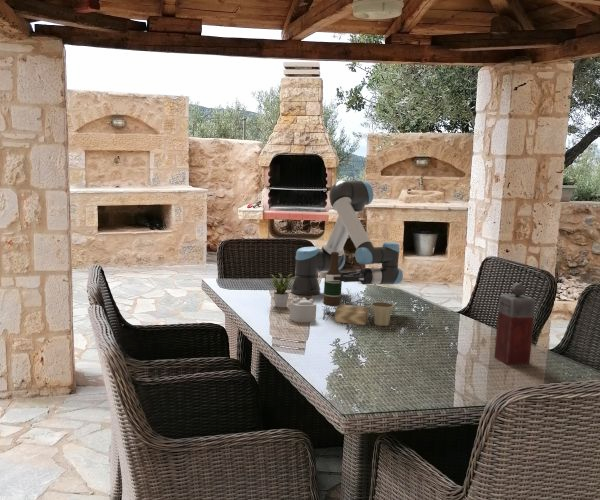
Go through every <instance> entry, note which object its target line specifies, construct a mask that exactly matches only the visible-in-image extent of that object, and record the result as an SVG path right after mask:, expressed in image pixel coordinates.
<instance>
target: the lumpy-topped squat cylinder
mask: <svg viewBox="0 0 600 500" xmlns="http://www.w3.org/2000/svg"><path fill="white" fill-rule="evenodd" d="M289 303H290V304H289V305H290V306H289V319H290V320H291V321H293V322H295V323H314V322H316V319H317V303H316V302H315V301H314V299H313V298H310V299H307V298H306V297H301V298H300V297H296V298H293V299H292V300H291V301H290V302H289Z"/></svg>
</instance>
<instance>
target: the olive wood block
mask: <svg viewBox="0 0 600 500" xmlns="http://www.w3.org/2000/svg"><path fill="white" fill-rule="evenodd" d="M334 311H335V312H334V314H335V315H334V323H343V324H353V325H354V324H355V325H363V326H365V325H366V324H367V322H368V320H369V318H370V317H369V315H370V306H363V305H362V306H361V305H352V304H351V305H350V304H341V303H340V305H339V306H337V308H336V309H335V310H334Z"/></svg>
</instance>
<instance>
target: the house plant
mask: <svg viewBox="0 0 600 500" xmlns="http://www.w3.org/2000/svg"><path fill="white" fill-rule="evenodd" d="M278 275H279V278H280V279H279V280H278V279H277V278H276V276H274V275H273V274H271V276H272V277H271V276H270V278H271V279H272V283H273V284H271V283H270V284H269V285H270V286H273V289H274V290H275V292H273V299H274V305H275V307H276V308H286V307H287V306H288V301H289V295H290V293H289V292H286V291H287V290H291V287H293V286H292V285H291V282H290V281H292V279H293V280H294V279H295V276H293V277H291V276H292V273H290V274H288V275H287V276H286V278H285V279H284V278H283V277H284V276H283V274H282V273H281V272H279V273H278ZM297 277H298V276H297ZM292 290H293V289H292Z"/></svg>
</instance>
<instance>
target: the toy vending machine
mask: <svg viewBox="0 0 600 500" xmlns="http://www.w3.org/2000/svg"><path fill="white" fill-rule="evenodd" d="M510 291H511V293H512V294H511V293H508V294H507V293H506V294H505V293H502V294H500V295H499V299H498V300H499V302H498V310H497V311H498V312H497V324H496V335H495V345H494V346H495V347H494V355H493V357H494V358H495V359H496V360H498V361H499V362H501V363H503V364H504V365H506V366H515V365H516V366H519V365H520V366H521V365H530V362H531V353H532V352H531V350H532V340H533V332H534V331H533V330H534V329H533V328H534V320H535V318H534V317H535V310H536V309H535V308H536V307H535V306H536V300H535V299H534V298H533V297H529V296H528V295H527V296H526V295H524V293H525V292H526V287H525V286H524V284H522V283H518V282H515V283H513V284H512V285H511V288H510Z"/></svg>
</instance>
